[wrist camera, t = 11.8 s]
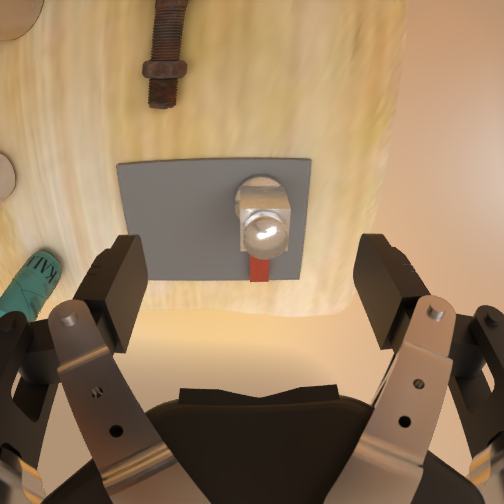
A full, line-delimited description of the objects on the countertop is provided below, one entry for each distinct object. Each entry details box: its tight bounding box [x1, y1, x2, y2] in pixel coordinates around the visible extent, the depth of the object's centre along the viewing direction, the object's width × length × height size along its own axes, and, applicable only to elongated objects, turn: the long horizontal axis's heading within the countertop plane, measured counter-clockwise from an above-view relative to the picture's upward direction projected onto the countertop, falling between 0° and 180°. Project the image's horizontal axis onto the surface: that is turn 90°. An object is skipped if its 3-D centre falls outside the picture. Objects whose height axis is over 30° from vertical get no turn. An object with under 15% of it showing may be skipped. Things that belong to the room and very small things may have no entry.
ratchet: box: [235, 174, 287, 282], centre depth 40 cm, size 6×15×5 cm, turn 0°
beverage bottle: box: [0, 251, 61, 322], centre depth 37 cm, size 6×7×20 cm
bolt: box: [142, 0, 188, 109], centre depth 28 cm, size 6×5×15 cm
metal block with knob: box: [240, 186, 291, 260], centre depth 35 cm, size 5×5×8 cm
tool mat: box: [116, 158, 311, 281], centre depth 42 cm, size 24×18×1 cm
